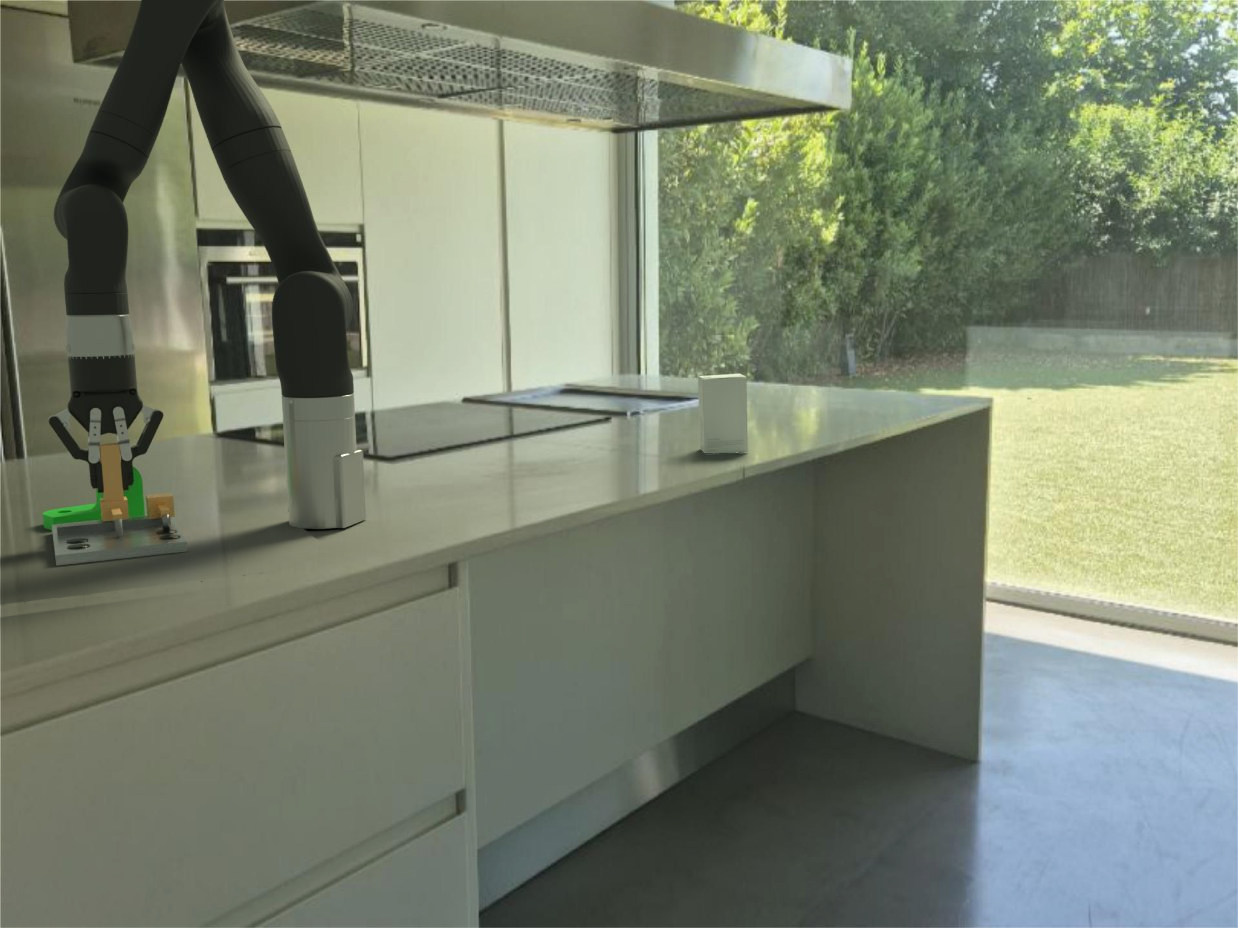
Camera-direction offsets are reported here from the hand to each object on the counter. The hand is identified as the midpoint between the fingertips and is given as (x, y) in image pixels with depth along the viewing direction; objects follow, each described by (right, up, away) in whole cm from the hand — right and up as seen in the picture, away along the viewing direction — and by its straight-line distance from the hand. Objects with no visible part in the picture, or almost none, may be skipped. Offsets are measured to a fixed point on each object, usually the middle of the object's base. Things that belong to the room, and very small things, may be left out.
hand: (112, 490), depth 141 cm
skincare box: (+83, +4, +65) cm, 105 cm away
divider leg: (+1, -5, -1) cm, 5 cm away
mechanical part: (-8, -5, +12) cm, 15 cm away
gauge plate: (+1, -6, -2) cm, 7 cm away
